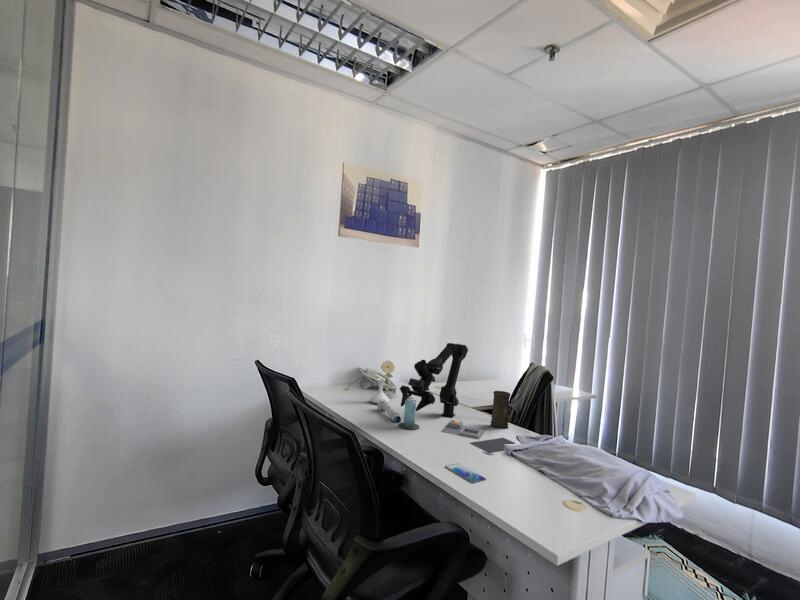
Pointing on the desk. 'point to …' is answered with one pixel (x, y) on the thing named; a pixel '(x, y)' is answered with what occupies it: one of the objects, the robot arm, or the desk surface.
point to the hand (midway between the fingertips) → (408, 408)
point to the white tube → (388, 411)
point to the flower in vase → (387, 368)
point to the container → (500, 410)
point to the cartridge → (409, 412)
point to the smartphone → (465, 473)
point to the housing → (463, 430)
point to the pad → (408, 427)
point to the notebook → (492, 445)
